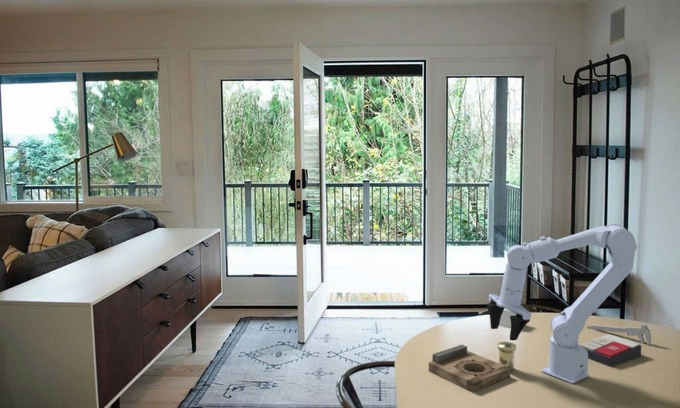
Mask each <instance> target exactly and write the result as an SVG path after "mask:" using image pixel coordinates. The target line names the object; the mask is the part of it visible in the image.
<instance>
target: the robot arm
mask: <svg viewBox="0 0 680 408" xmlns="http://www.w3.org/2000/svg"><path fill="white" fill-rule="evenodd" d="M636 242H637V241H636V240H635V236H634V234H633V233H632V232H631V231H630V230H628V229H626V228H625V227H624V226H623V225H621V224H619V223H610V224H608V225H601V226H597V227H592V228H590V229H587V230H583V231H580V232H578V233H574V234H571V235H568V236H564V237H562V238H558V239H554V238H552V237H550V236H548V237H545V235H543V236H541V237H539V239H538V240H535V241H531V242H529V243H528V242H526V241H525V242H522V245H520V244H515V245H513V246H511V247H510V248H508V251H507V252H506V257H507V262H506V265H505V270H504V274H503V277H502V284H501V288H500V293H499V295H497V294H494V293H491V294H488V299H487V300H488V303H486V308H487V312H488V314H489V321H490V322H489V323H490V329H491V330H497V329H499V326H500V325H499V323H500V319H501V315H502V313H503V311H504V309H507V310H509V311H511V312H513V313H515V314H516V316H510V319H511V328H510V331H509V332H510V333H509V340H510V341H517V340H518V339H519V336H520V334H521V333H522V330H523V329H524V328H525V327H526V325H527V324H529V322H530V321H531V317H532V312H531V311H529V310H528V309H526V308H525V307H524V306H522V304H521V302H522V298H523V293H524V287H525V282H526V277H527V274H526V273H527V267H529V266H530V265H531V264H538V263H541V262H544V261H547V260H551V259H556V258H557V257H558V256H559V254H560V253H561V252H564V251H569V250H572V249H573V250H574V249H577V248H581V247H586V246H590V245H592V246H596V247H599V248H604V249H605V248H607V252H608V259H609V264H608V265H606V266H605V268H603V270H602V271H601V272H600V273H599V274H598V276H596V278H594V280H593V281H592V282H591V283H590V284H589V286H588V287H587V288H586V289H585V290H584V291H583V292H582V293H581V294H580V295H579V296H578V298H577V299H576V300H575V301H574V302H573V303H572V304H571V305H570V306H568V307H566V308H564V309H563V311H562V312H560V313H557V314H555V315H553V317H552V318H551V320H550V329H551V330H552V335H551V336H550V337H549V347H548V367H545V368H542V369H541V372H543V373H545V374H547V375H550V376H552V377H554V378H558V379H560V380H562V381H564V382H565V381H566V382H568V383H570V384H575V383H578V381H581V380H583V379H585V378H587V377H589V376H590V374H589V373H588V369H589V359H588V352H587V350H586V349H584V348H582V347H581V346H580V343H579V341H578V340H579V338H580V333H581V332H582V331H583V330H584V329H585V326H586V322H587V320H588V319H590V317H591V316H592V314H593V313H594V312H595V311H596V310H598V308H599V307H600V306H601V304H602V303H603V302H605V301H606V299H607V298H608V297H609V296H610V295H611V294H612V293H613V292H614V291H615V289H617V287H618V286H619V285H620V284H621V283H622V282H623V281H624V280H625V278H627V276H628V275H629V274H630V273H631V272H632V271H633V269H634V264H635V263H634V262H635V255H636V251H637V249H638V245H637V243H636Z"/></svg>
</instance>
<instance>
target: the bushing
mask: <svg viewBox="0 0 680 408" xmlns="http://www.w3.org/2000/svg"><path fill="white" fill-rule="evenodd" d="M497 349H498V351H499V352H498V353H499V354H498V363H499V364H501V365H504V366H506V367H509V368H510V373H511V372H514V367H515V366H514V365H515V352H516V351H517V345H516V344H515V343H513V342H511V341H500V342H497Z"/></svg>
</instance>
